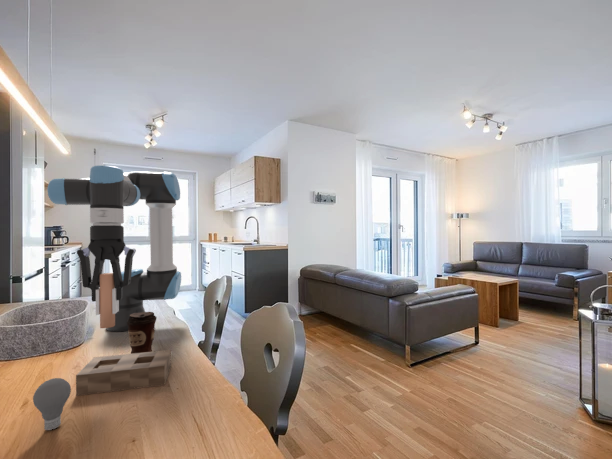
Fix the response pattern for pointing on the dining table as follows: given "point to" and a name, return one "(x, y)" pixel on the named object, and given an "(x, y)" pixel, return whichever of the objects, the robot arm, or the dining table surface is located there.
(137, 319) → the coffee cup
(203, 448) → the dining table surface
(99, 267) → the robot arm
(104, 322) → the dowel
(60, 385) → the light bulb
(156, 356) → the bore block
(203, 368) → the dining table surface
